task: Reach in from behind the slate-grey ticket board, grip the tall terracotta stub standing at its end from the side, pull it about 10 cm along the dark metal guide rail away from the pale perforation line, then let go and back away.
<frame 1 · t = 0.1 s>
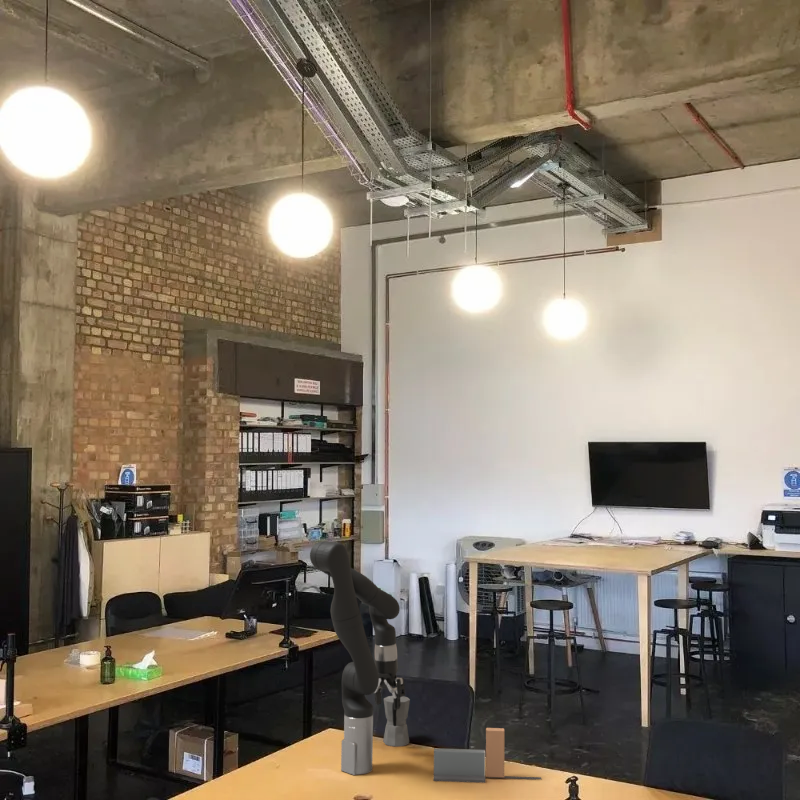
hand: (387, 706, 285), 17 cm above the table, fingers open, 8 cm apart
coffeepot: (395, 744, 301), on the table
stub: (495, 752, 269), point 8 cm above the table, slide at 0.0 cm
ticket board: (465, 776, 269), on the table
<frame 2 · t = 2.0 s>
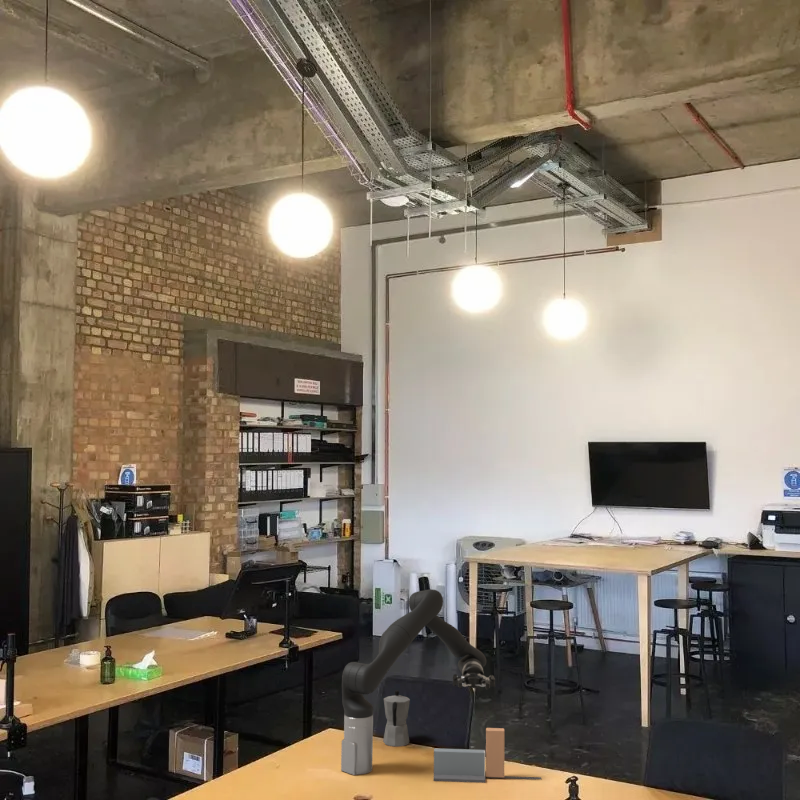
hand: (474, 686, 285), 24 cm above the table, fingers open, 8 cm apart
nothing on the table moved.
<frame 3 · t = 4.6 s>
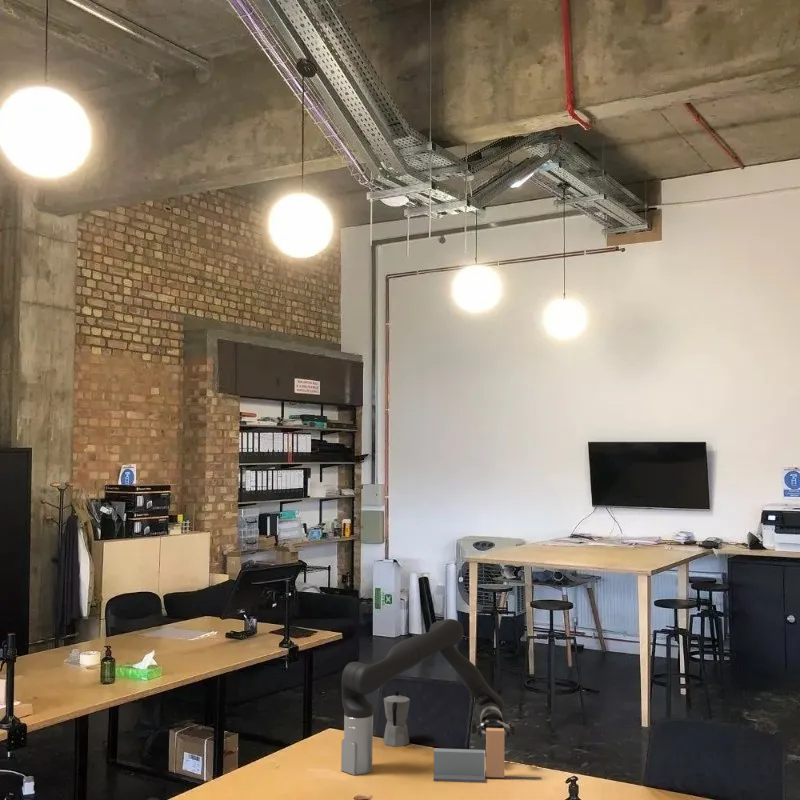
hand: (494, 734, 275), 11 cm above the table, fingers open, 8 cm apart
nothing on the table moved.
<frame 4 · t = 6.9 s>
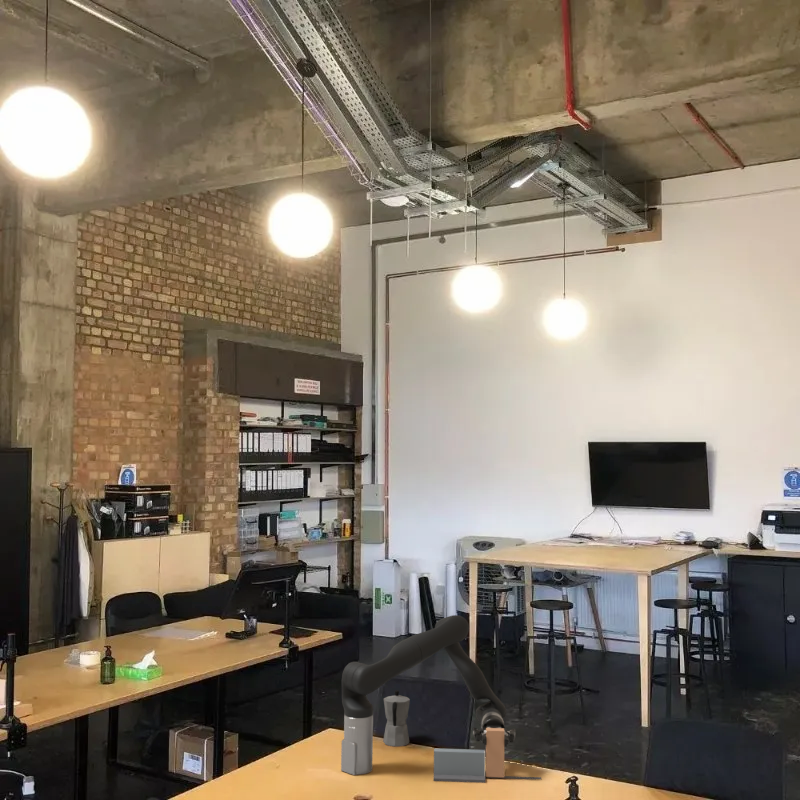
hand: (495, 742, 267), 11 cm above the table, fingers closed on stub, 5 cm apart
stub: (495, 752, 269), point 8 cm above the table, slide at 0.0 cm, touching gripper
everything else where it was.
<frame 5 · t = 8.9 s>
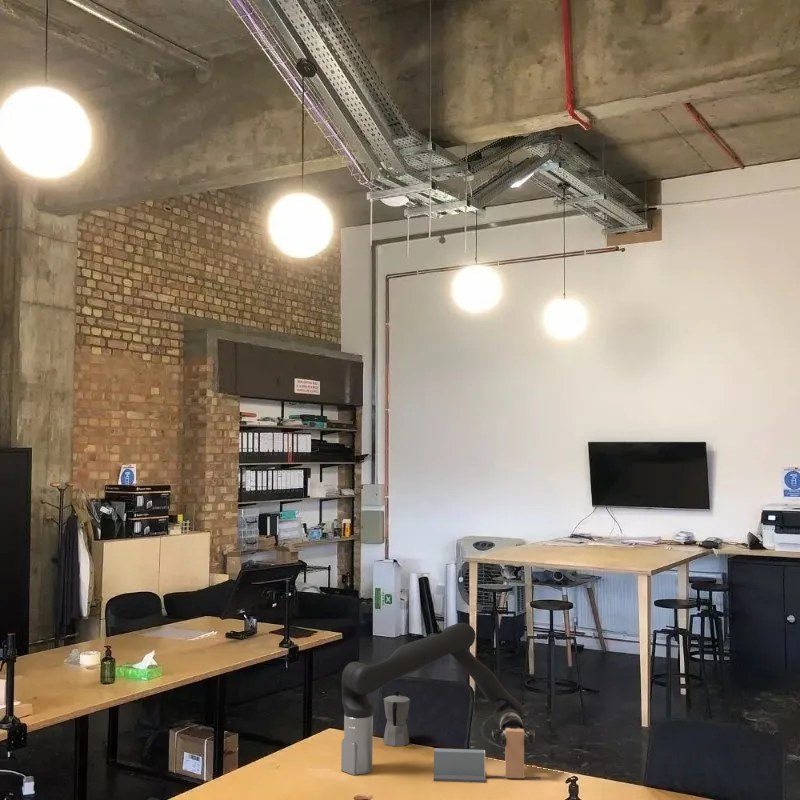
hand: (515, 742, 267), 12 cm above the table, fingers closed on stub, 5 cm apart
stub: (514, 753, 269), point 8 cm above the table, slide at 6.1 cm, touching gripper
everything else where it was.
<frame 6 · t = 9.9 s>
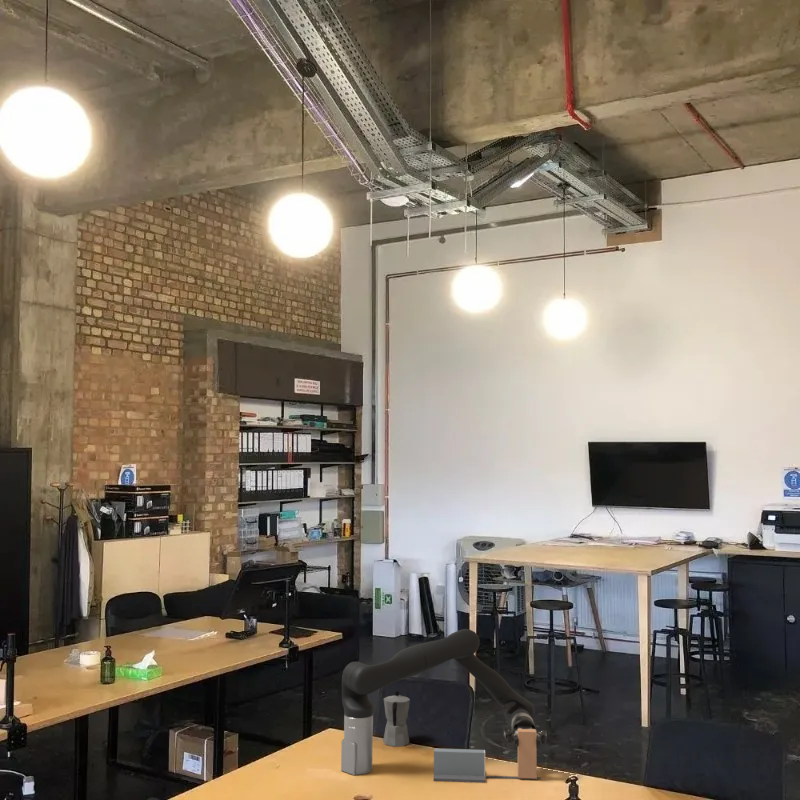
hand: (527, 743, 266), 12 cm above the table, fingers closed on stub, 5 cm apart
stub: (526, 753, 269), point 8 cm above the table, slide at 9.9 cm, touching gripper
everything else where it was.
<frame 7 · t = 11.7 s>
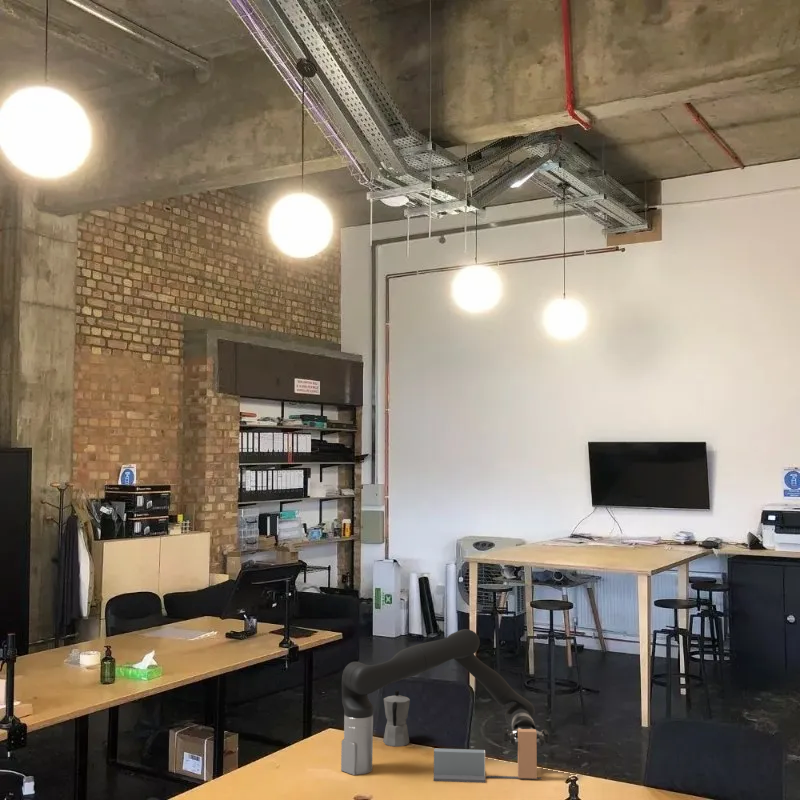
hand: (527, 742, 267), 12 cm above the table, fingers open, 8 cm apart
stub: (527, 753, 269), point 8 cm above the table, slide at 10.0 cm
everything else where it was.
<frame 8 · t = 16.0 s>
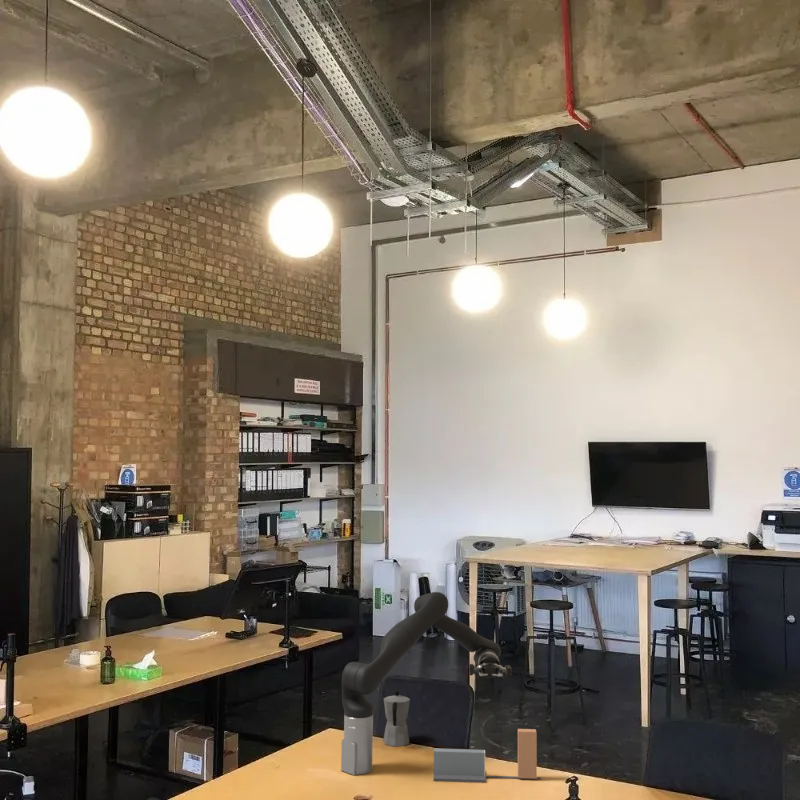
hand: (491, 675, 285), 28 cm above the table, fingers open, 8 cm apart
nothing on the table moved.
at the end: stub slide at 10.0 cm; the gripper is holding nothing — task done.
